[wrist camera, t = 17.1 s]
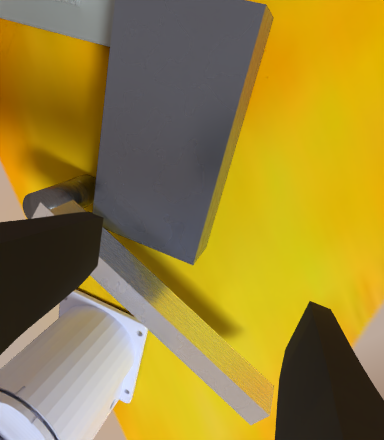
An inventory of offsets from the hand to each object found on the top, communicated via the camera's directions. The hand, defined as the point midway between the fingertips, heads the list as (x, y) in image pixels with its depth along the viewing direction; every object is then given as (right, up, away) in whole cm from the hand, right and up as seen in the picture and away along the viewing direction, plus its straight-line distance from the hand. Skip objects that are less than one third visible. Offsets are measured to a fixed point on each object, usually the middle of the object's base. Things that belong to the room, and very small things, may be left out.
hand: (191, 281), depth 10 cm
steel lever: (-1, -1, +11) cm, 12 cm away
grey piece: (-1, +7, +8) cm, 11 cm away
